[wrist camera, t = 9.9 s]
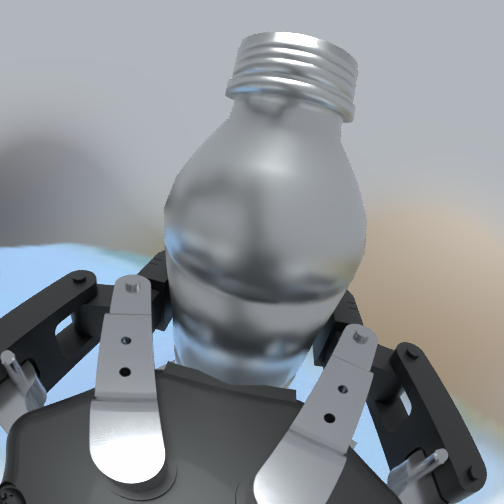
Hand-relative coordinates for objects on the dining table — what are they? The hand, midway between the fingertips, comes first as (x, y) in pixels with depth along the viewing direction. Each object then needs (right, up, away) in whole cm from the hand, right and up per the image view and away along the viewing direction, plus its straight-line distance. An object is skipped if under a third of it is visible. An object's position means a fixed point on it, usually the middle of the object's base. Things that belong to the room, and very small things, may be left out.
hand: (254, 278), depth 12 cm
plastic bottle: (-2, -11, +2) cm, 12 cm away
